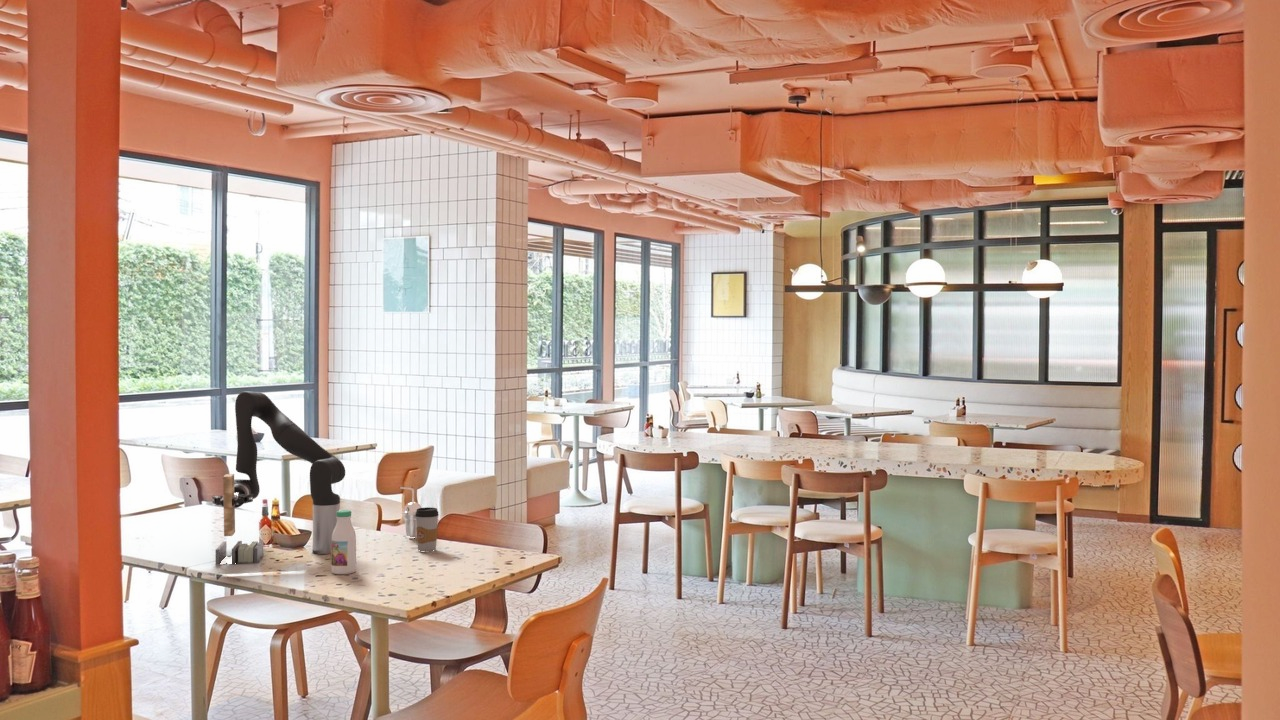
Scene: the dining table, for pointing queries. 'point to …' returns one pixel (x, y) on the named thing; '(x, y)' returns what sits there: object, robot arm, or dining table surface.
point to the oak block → (228, 504)
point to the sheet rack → (222, 553)
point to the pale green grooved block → (246, 552)
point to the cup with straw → (410, 515)
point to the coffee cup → (426, 528)
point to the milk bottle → (343, 545)
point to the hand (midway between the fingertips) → (227, 502)
